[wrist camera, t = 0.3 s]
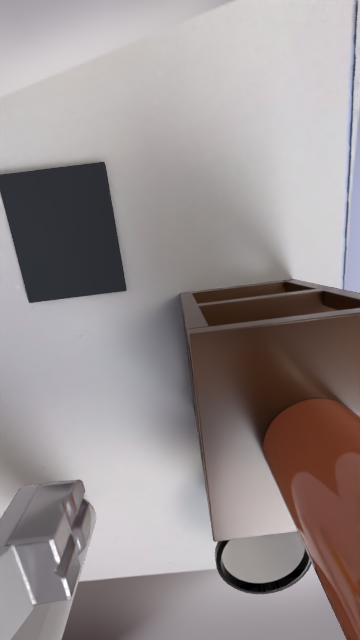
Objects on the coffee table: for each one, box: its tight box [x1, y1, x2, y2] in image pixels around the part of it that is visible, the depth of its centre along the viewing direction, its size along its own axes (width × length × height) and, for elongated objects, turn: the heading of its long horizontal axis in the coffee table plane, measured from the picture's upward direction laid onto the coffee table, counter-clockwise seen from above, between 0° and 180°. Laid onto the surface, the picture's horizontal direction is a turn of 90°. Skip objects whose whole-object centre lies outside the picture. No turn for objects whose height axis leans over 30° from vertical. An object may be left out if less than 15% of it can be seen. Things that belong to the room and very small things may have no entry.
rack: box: [180, 279, 360, 542], centre depth 23 cm, size 14×12×15 cm
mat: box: [0, 162, 126, 303], centre depth 27 cm, size 12×10×1 cm
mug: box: [215, 531, 312, 594], centre depth 30 cm, size 12×10×9 cm
